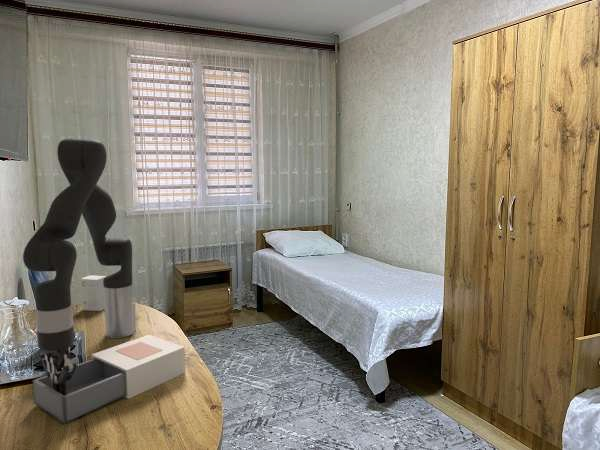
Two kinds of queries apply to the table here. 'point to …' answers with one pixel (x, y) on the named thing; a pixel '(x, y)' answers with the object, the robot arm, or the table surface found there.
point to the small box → (92, 293)
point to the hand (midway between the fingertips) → (60, 396)
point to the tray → (81, 390)
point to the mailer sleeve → (145, 362)
